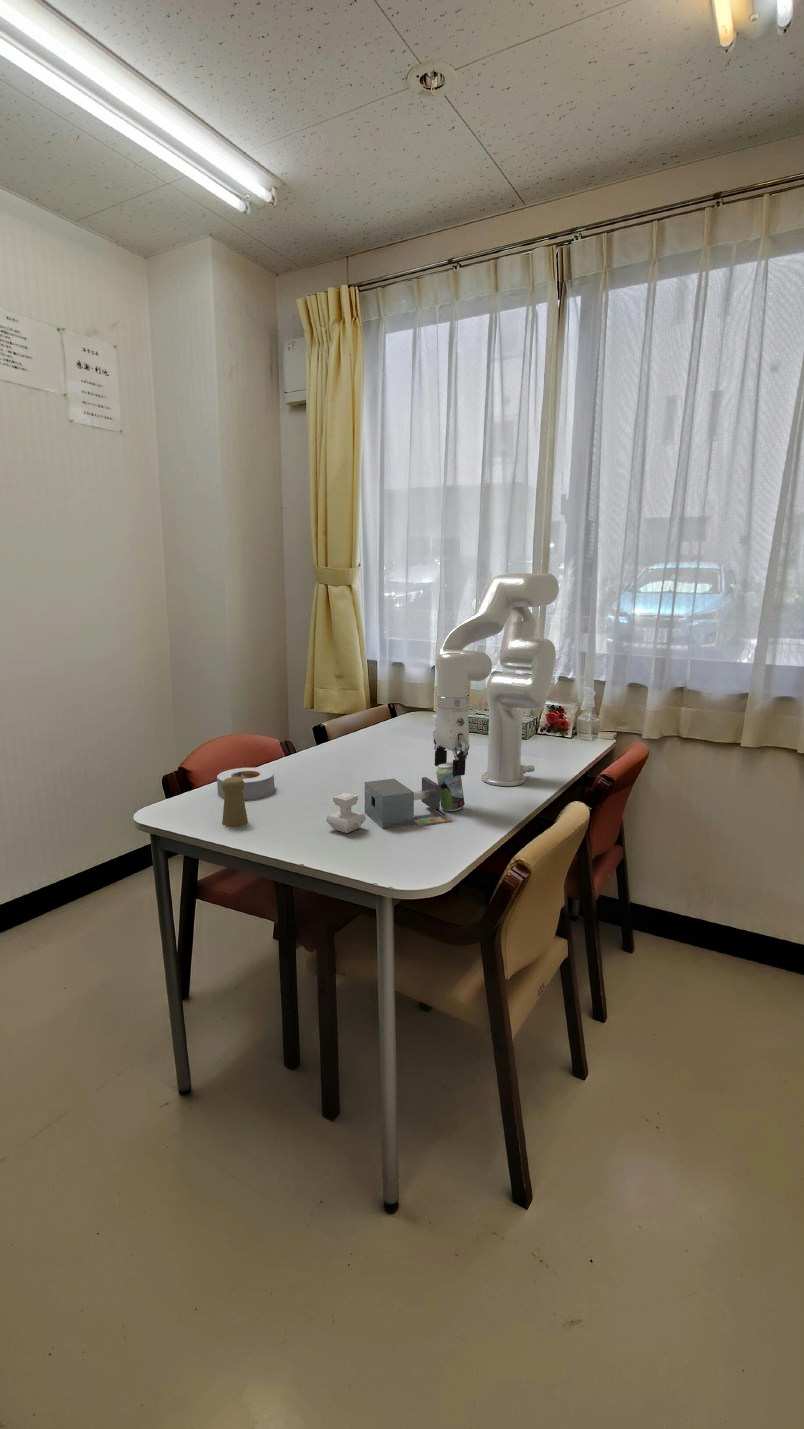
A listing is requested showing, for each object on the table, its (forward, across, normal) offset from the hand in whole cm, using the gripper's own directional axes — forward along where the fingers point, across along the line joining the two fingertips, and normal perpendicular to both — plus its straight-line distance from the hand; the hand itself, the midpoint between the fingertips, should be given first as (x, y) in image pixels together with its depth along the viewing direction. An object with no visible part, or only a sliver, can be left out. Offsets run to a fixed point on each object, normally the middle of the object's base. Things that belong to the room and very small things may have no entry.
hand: (449, 770), depth 165 cm
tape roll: (+12, +36, +44) cm, 58 cm away
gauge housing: (+11, +1, +16) cm, 19 cm away
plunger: (+9, -1, +9) cm, 13 cm away
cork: (+12, +13, +51) cm, 54 cm away
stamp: (+12, -2, +28) cm, 30 cm away
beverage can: (+11, +1, -1) cm, 11 cm away
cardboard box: (+11, -6, +7) cm, 14 cm away
